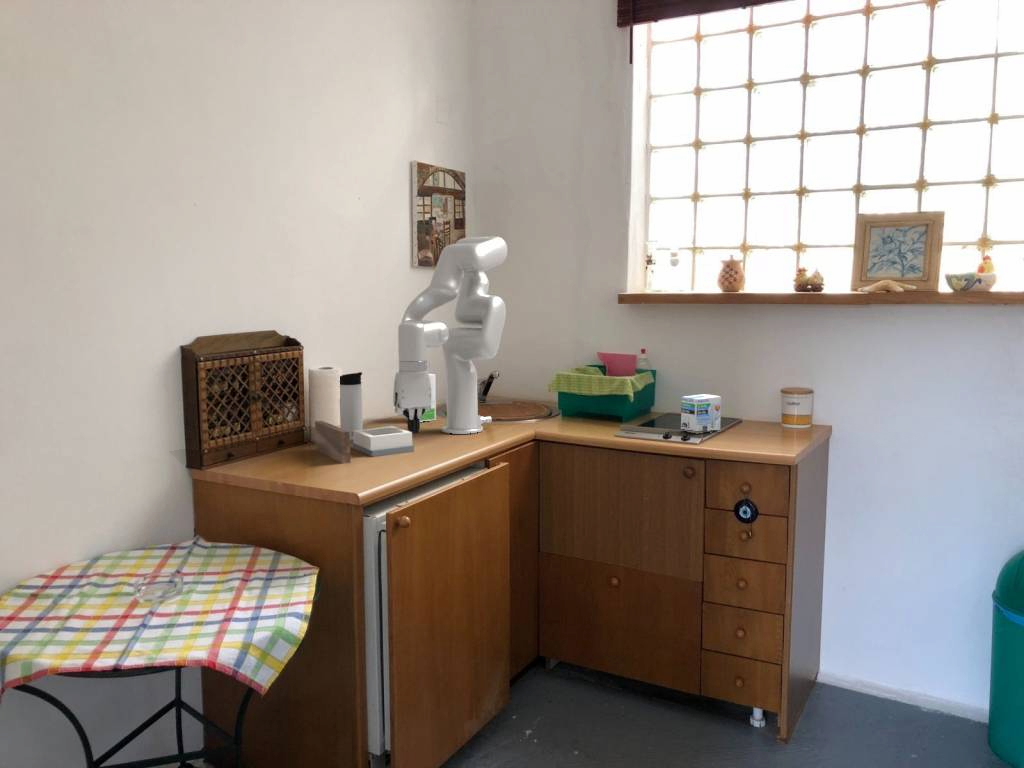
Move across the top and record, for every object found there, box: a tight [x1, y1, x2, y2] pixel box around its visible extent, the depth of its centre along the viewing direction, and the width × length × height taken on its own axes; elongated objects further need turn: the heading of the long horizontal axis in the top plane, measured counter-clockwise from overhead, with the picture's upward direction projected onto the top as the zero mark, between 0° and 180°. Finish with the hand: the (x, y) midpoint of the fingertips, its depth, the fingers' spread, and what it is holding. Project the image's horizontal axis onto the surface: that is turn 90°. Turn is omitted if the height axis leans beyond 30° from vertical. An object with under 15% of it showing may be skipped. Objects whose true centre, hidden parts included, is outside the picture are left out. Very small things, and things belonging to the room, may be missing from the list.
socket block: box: [351, 425, 415, 458], centre depth 216 cm, size 12×14×5 cm
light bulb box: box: [680, 393, 722, 431], centre depth 240 cm, size 11×7×11 cm, turn 123°
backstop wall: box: [314, 420, 351, 464], centre depth 209 cm, size 2×20×8 cm, turn 33°
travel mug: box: [339, 371, 364, 444], centre depth 228 cm, size 6×7×20 cm
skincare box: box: [405, 373, 437, 423], centre depth 262 cm, size 8×7×16 cm
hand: (413, 432), depth 221 cm, fingers closed
